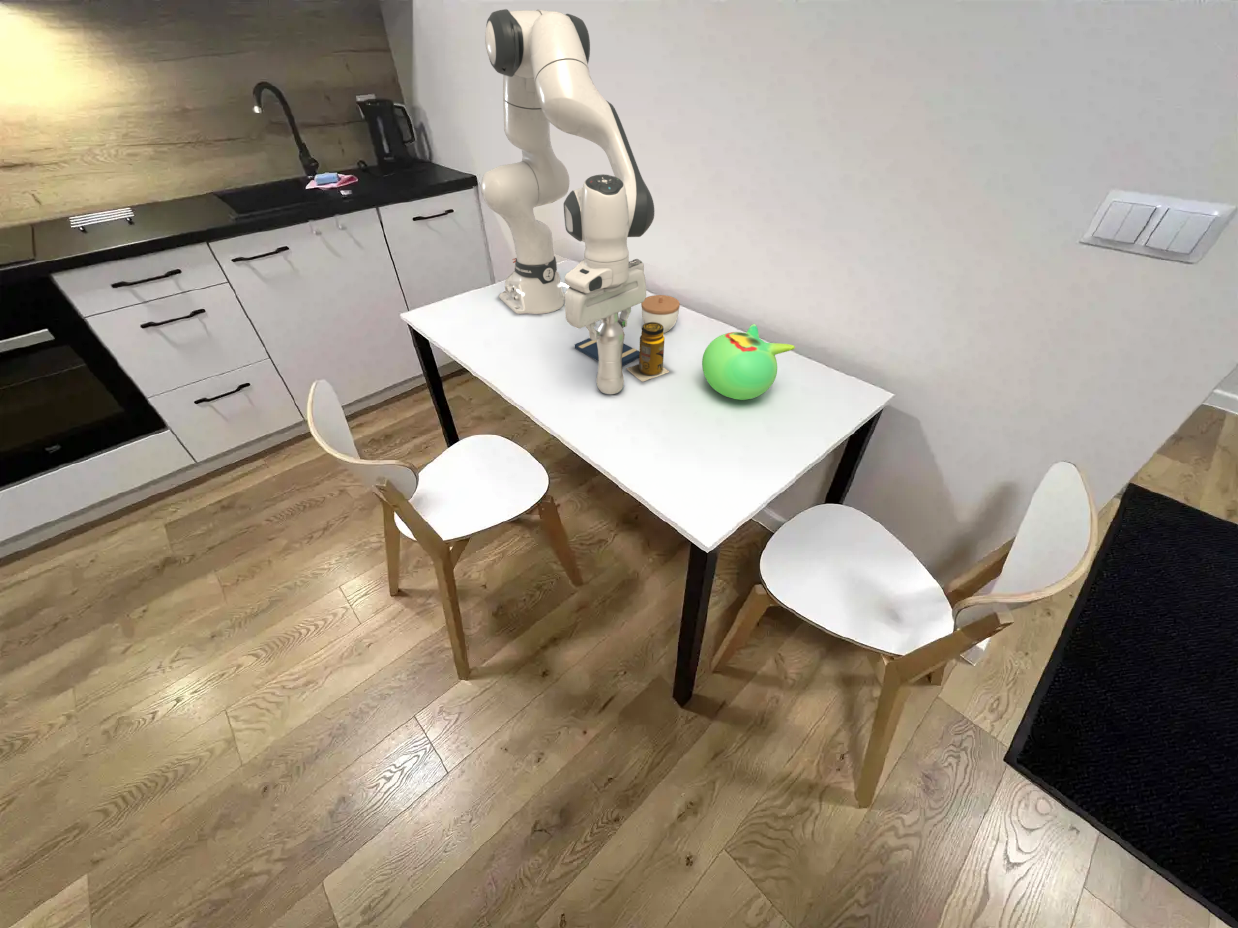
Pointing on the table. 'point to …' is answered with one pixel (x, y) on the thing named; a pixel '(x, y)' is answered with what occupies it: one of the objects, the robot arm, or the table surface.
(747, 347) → the toy bird
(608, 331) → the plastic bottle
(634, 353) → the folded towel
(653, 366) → the condiment
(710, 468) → the table surface
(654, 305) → the trinket box
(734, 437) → the table surface
